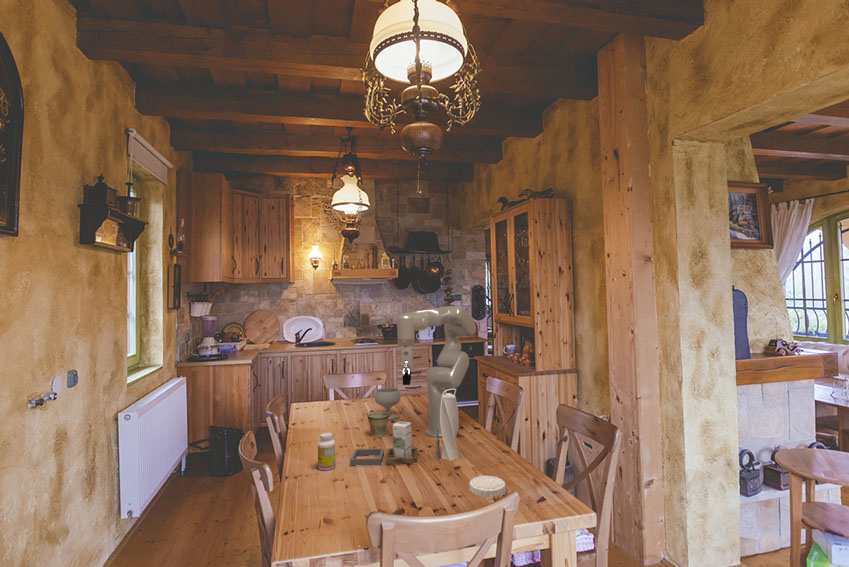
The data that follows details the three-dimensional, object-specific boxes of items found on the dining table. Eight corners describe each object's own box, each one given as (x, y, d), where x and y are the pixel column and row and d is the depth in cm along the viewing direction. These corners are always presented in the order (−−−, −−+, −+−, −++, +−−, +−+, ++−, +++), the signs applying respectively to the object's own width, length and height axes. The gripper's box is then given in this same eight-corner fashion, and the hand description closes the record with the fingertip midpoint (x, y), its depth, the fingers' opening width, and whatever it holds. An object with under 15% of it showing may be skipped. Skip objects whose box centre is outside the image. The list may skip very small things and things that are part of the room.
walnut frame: (417, 453, 184) (417, 447, 184) (416, 464, 172) (416, 458, 172) (388, 454, 184) (388, 448, 184) (386, 465, 172) (386, 458, 172)
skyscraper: (449, 454, 183) (447, 387, 184) (464, 459, 177) (462, 389, 178) (434, 460, 177) (433, 390, 178) (449, 465, 171) (448, 393, 172)
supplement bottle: (316, 466, 172) (316, 433, 173) (333, 463, 175) (333, 430, 175) (319, 472, 166) (319, 438, 167) (337, 469, 169) (336, 435, 169)
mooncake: (481, 503, 139) (481, 491, 139) (463, 488, 150) (462, 478, 150) (513, 495, 144) (512, 484, 144) (492, 481, 155) (492, 471, 155)
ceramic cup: (379, 440, 202) (378, 418, 203) (363, 436, 209) (363, 415, 209) (397, 433, 213) (397, 412, 213) (382, 429, 219) (381, 409, 219)
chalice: (399, 420, 235) (399, 392, 235) (373, 421, 235) (373, 392, 235) (401, 413, 249) (401, 387, 249) (376, 414, 249) (376, 387, 249)
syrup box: (412, 457, 179) (411, 421, 180) (405, 462, 174) (404, 425, 174) (399, 456, 182) (398, 420, 182) (392, 461, 176) (392, 424, 177)
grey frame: (383, 454, 184) (383, 448, 184) (381, 465, 172) (381, 459, 172) (355, 455, 184) (355, 449, 184) (350, 466, 172) (350, 459, 172)
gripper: (414, 345, 184) (415, 386, 183) (415, 341, 201) (416, 378, 200) (396, 345, 184) (397, 386, 183) (398, 341, 201) (399, 379, 200)
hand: (407, 382), depth 192 cm, fingers open, 9 cm apart
